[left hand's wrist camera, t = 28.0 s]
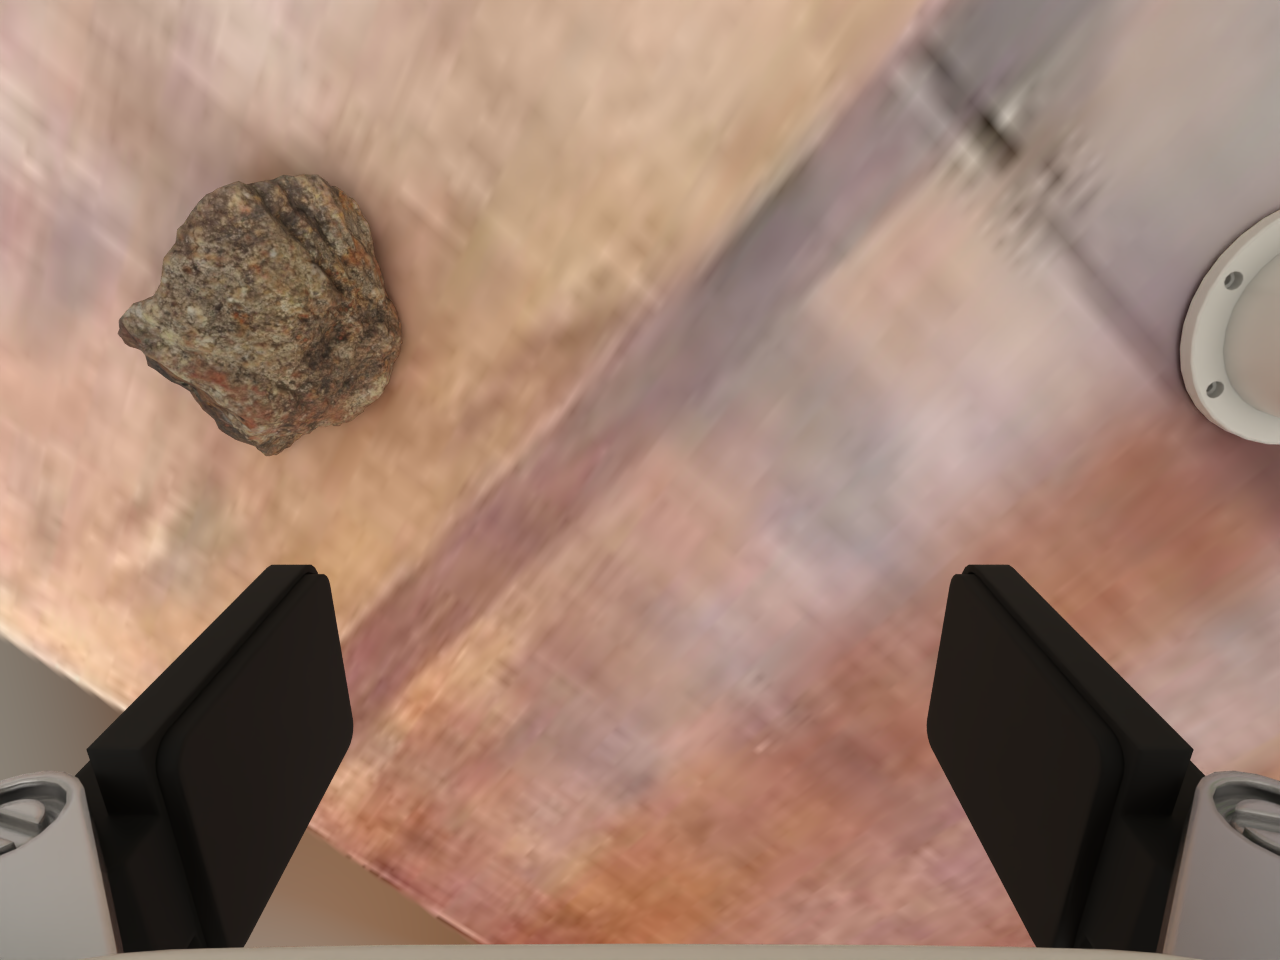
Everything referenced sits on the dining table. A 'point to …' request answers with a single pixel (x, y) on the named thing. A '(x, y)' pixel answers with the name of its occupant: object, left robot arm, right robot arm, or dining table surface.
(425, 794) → the dining table surface
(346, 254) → the rock
